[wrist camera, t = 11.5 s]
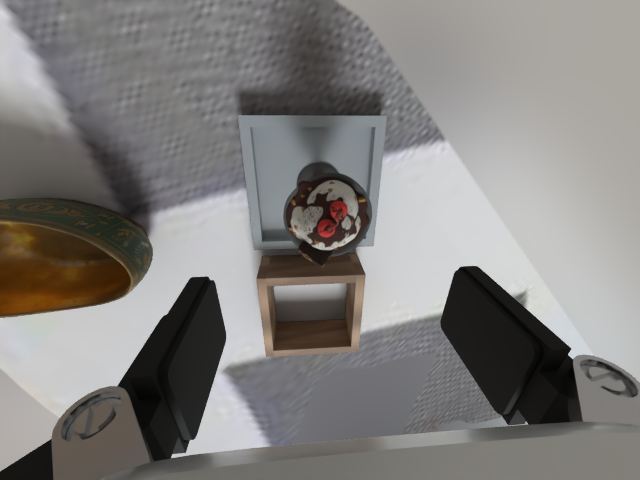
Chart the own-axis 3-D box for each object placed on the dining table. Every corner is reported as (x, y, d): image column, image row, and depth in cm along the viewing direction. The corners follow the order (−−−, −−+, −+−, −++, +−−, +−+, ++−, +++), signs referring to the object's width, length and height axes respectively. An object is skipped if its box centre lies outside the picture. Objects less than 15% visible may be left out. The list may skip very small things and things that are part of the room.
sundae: (329, 140, 26) (361, 166, 13) (359, 194, 29) (410, 263, 16) (276, 174, 28) (254, 231, 14) (309, 223, 30) (317, 311, 17)
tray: (242, 115, 26) (237, 115, 24) (380, 115, 27) (386, 115, 25) (256, 242, 32) (254, 249, 30) (369, 238, 33) (373, 246, 31)
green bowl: (-33, 127, 24) (-227, 137, 15) (180, 227, 30) (130, 276, 21) (-42, 234, 29) (-197, 291, 20) (146, 302, 35) (93, 370, 26)
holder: (262, 256, 33) (256, 278, 28) (356, 253, 33) (365, 274, 29) (270, 328, 38) (266, 356, 33) (351, 324, 39) (358, 351, 34)
